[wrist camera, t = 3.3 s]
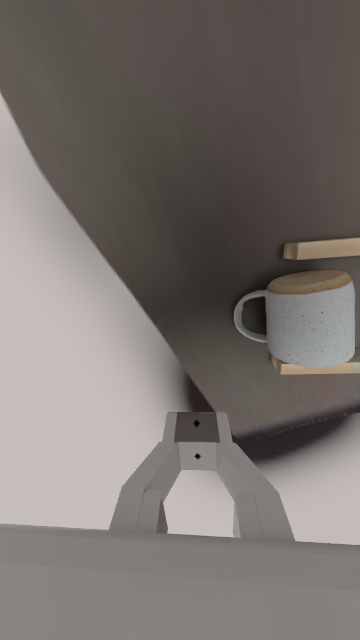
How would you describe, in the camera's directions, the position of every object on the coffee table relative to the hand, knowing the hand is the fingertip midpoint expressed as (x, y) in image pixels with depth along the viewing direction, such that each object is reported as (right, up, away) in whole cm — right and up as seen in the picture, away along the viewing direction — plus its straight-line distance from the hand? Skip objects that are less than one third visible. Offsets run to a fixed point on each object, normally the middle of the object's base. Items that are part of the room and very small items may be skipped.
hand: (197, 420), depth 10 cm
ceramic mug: (+11, +7, +14) cm, 19 cm away
